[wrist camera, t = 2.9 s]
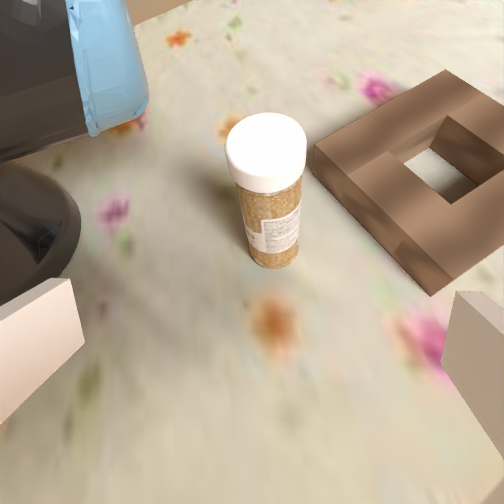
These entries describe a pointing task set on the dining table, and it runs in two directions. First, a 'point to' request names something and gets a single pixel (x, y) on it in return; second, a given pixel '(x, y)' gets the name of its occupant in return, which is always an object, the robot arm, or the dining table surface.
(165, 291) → the dining table surface
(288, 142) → the sprinkles bottle
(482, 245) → the frame
